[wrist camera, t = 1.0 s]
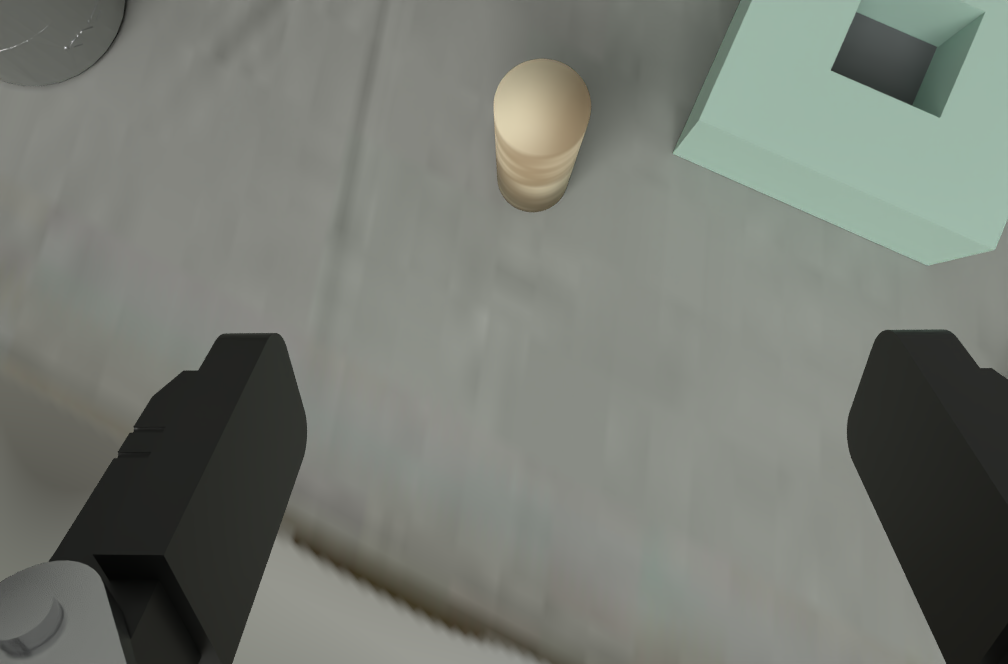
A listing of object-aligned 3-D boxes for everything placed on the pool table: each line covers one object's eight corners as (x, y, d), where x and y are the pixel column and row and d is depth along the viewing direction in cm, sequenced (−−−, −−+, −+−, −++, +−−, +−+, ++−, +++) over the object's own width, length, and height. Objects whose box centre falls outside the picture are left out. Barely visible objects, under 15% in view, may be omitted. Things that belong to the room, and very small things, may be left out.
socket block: (672, 153, 37) (698, 120, 32) (781, -91, 37) (823, -162, 32) (927, 265, 36) (994, 249, 31) (1033, 17, 37) (1116, -38, 32)
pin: (485, 194, 37) (477, 130, 27) (514, 130, 37) (517, 43, 27) (550, 223, 36) (567, 169, 26) (579, 159, 37) (606, 82, 27)
